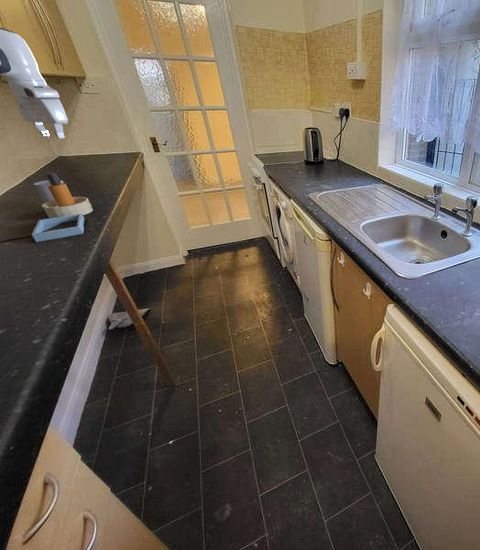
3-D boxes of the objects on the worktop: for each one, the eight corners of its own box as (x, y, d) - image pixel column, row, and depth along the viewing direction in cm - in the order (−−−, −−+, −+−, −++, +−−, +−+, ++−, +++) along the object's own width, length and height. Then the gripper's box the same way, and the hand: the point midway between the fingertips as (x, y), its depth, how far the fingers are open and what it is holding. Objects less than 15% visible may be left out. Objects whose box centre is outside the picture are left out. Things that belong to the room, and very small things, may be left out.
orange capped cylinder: (62, 216, 112) (40, 175, 104) (63, 212, 115) (42, 172, 107) (79, 213, 114) (59, 173, 107) (80, 210, 118) (60, 171, 110)
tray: (36, 242, 94) (31, 234, 93) (42, 226, 104) (38, 219, 103) (83, 233, 100) (79, 226, 99) (85, 220, 110) (81, 213, 109)
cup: (65, 209, 119) (52, 184, 114) (42, 210, 118) (27, 185, 113) (79, 203, 127) (67, 179, 121) (57, 204, 125) (44, 180, 120)
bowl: (46, 223, 107) (39, 210, 105) (51, 213, 116) (44, 200, 113) (93, 216, 114) (87, 203, 112) (94, 207, 123) (88, 195, 120)
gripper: (2, 90, 98) (26, 136, 105) (35, 91, 91) (59, 140, 98) (26, 90, 103) (48, 134, 110) (60, 91, 96) (81, 138, 103)
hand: (53, 137), depth 104 cm, fingers open, 8 cm apart
